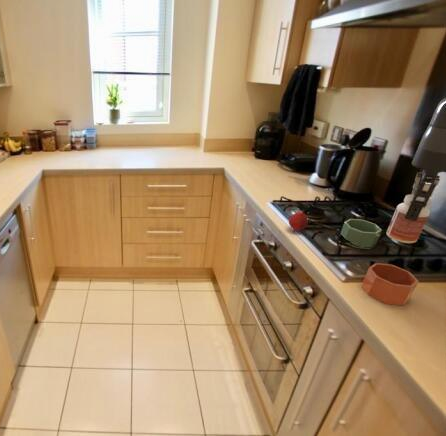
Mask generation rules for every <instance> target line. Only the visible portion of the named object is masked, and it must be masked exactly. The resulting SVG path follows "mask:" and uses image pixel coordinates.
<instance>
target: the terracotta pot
mask: <svg viewBox="0 0 446 436" xmlns="http://www.w3.org/2000/svg"><path fill="white" fill-rule="evenodd" d="M419 281H420V280H418V279H417V278H416V277H415V276H414V274H412V272H410V271H408V270H406V269H405V268H404V269H403V268H401V267H399V266H397V265H394V264H389V263H380V262H375V263H374V264H372V265H371V266H369V267H368V269H367V271H366V274H365V276H364V279H363V280H362V283H361V287H362V288H363V290H364V291H365V293H366V294H367V295H368V296H369V297H372V298H374V299H376V301H377V300H378V301H379V302H381V303H384V304H386V305H396V306H404V305H405V304H407V303H408V301H410V299H411V297H412V295H413V293H414V291H415V289H416V287H417V286H418V284H419Z"/></svg>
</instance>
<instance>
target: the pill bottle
mask: <svg viewBox="0 0 446 436" xmlns="http://www.w3.org/2000/svg"><path fill="white" fill-rule="evenodd" d="M412 198H413V195H412V194H406V195H405V197H404V199H403V202H401V203H399V204H398V205H397V206H396V208H395V211H394V212H393V215H392V218H391V220H390V221H389V222H390V223H389V225H388V227H387V229H386V232H385V233H386V235H387V237H388V238H390V239H391V240H394V241H397V242H399V243H403V244H413V243H416V242H417V241H418V239H419V237H420V235H421V233H422V231H423V229H424V227H425V224H426V222H427V221H428V219H429V216H430V214H431V211H430V209H429V208H428V207H429V206H430V205H431V203H432V199H431V198H429V200H428V202H427V205H426V206H425V207H423V208H422V210H421V212H420V214H419V217H418V219H417V220H416V221H412V220H408V219H405V215H406V213H407V211H408V209H409V206H410V201H412ZM416 200H417V201H423V200H424V198H423V197H417V198H416Z"/></svg>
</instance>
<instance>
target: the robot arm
mask: <svg viewBox="0 0 446 436" xmlns="http://www.w3.org/2000/svg"><path fill="white" fill-rule="evenodd" d="M433 112H434V113H433V114H432V117H431V120H430V122H429V124H428V126H427V128H426V130H425V131H424V133H423V135H422V137H421V140H420V142H419V145H418V147H417V148H416V152H415V153H414V155H413V159H412V161H411V165H412V167H414V168H417V169H420V172H417V173H416V175H415V178H414V182H413V184H412V191H411V194H410V195H413V198H412V201H410V206H409V209H408V211H407V213H406V215H405V219H408V220H412V221H416V220H417V219H418V217H419V214H420V212H421V210H422V208H423V207H425V206H426V205H427V202H428V200H429V199H431V197H432V196H433V194H434V192H435V189H436V187H437V186H438V185H439V183H440V181H441V175H439V173H446V97H445V98H443V99H441V100H440V101H439V103H438V104H437V105H436V108H435V110H434V111H433ZM417 197H423V198H424V200H423V201H417V200H416V198H417Z"/></svg>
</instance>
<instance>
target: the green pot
mask: <svg viewBox="0 0 446 436" xmlns="http://www.w3.org/2000/svg"><path fill="white" fill-rule="evenodd" d="M382 231H383V229H382V228H380V226H378V225H377V224H376V223H373V222H371V221H368V220H365V219H359V218H349V219H346V221H345V220H344V223H343V224H342V228H341V231H340V234H341V235H342V236H343V237H344V238H345V239H346V240H348V241H350V242H351V243H352V244H354V245H356V246H360V247H356V246H354V245H351V244H349V243H344V244H345V245H348V246H350V247H352V248H355V249H360V250H361V249H363V250H371V249H373V248H374V247H376V245H377V242H378V241H379V238H380V236H381V234H382ZM340 234H339V235H340ZM375 244H376V245H375ZM373 245H374V246H373ZM372 246H373V247H372ZM364 247H371V248H364Z"/></svg>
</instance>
